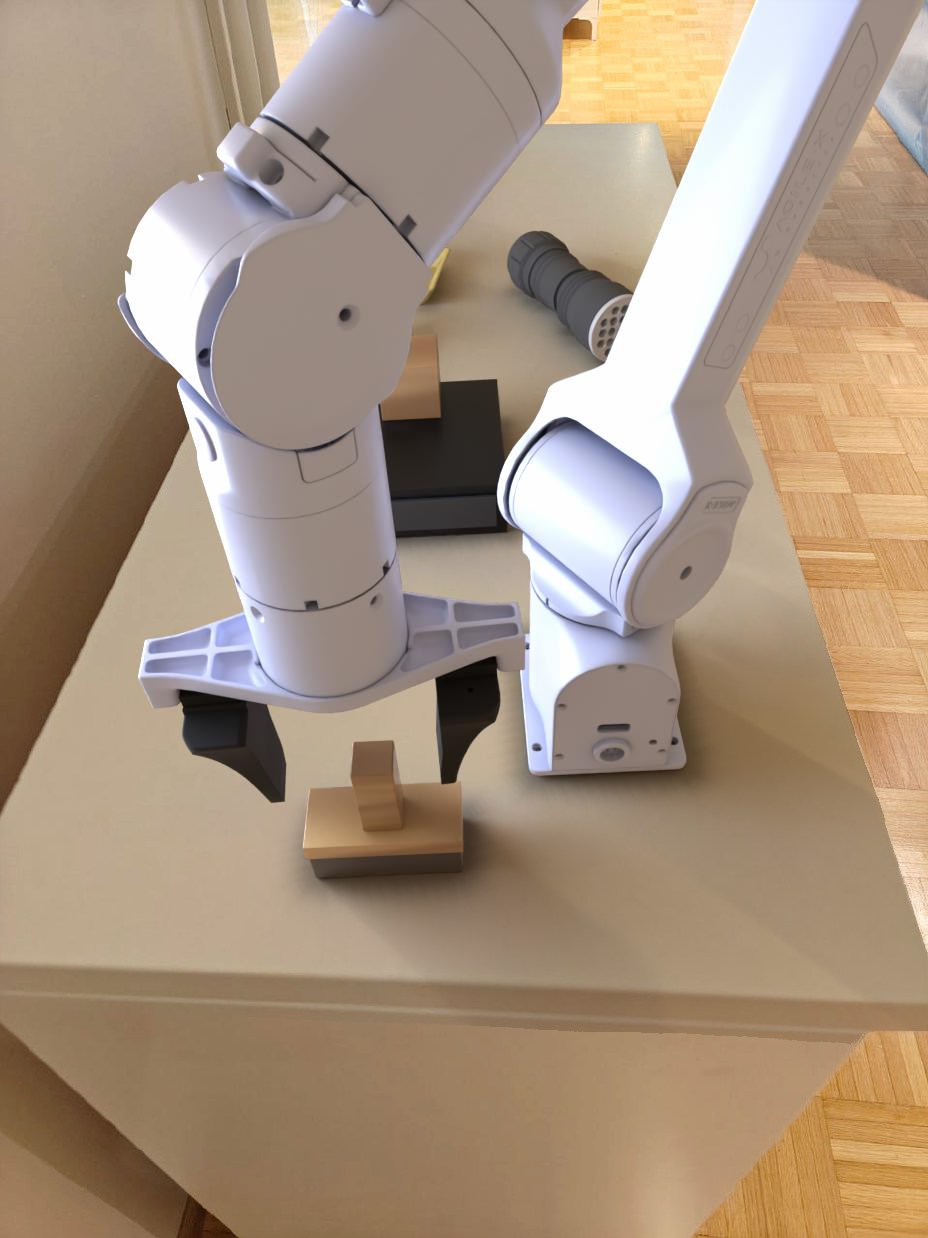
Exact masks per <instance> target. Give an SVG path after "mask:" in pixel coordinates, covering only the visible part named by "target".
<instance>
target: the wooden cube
mask: <svg viewBox="0 0 928 1238" xmlns="http://www.w3.org/2000/svg"><path fill="white" fill-rule="evenodd" d="M440 366H441V365H440V354H439V340H438V334H437V333H434V334H433V333H432V334H415V335H413V334H412V335H411V342H410V348H409V353H408V356H407V360H406V363H405V366H404V369H403V372H402V374H401V376H400V379H399V381H398V383H397V385H396V387H395V389H394V390H393V392H392V393H391V395H390V396H389V397H387V398H386V399H385V400H384V401H382V402H381V403H380V404H381V412H382V419H383V421H385V420H404V419H423V418H441V382H442V381H441V369H440V368H441V367H440Z"/></svg>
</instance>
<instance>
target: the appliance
mask: <svg viewBox="0 0 928 1238" xmlns="http://www.w3.org/2000/svg"><path fill="white" fill-rule="evenodd" d="M500 406H501V405H500V395H499V386H498V379H497V378H489V379H487V378H486V379H485V378H484V379H468V380H450V381H449V380H447V381H441V418H423V419H404V420H385V421H383V419H382V412H381V404H378V409H379V417H380V424H381V431H382V438H383V446H384V453H385V460H386V468H387V476H388V484H389V491H390V499H391V507H392V514H393V522H394V530H395V538H396V539H401V538H420V537H422V538H423V537H438V536H439V537H440V536H441V537H443V536H459V535H460V536H461V535H478V534H479V535H480V534H481V535H482V534H497V533H498V534H500V533H508V531H509V530H508V522H507V521H506V519H505V518H504V517H503V515H502V513H501V512H500V509H499V506H498V500H497V490H498V483H499V479H500V475H501V472H502V469H503V467H504V464H505V462H506V460H505V450H504V449H505V448H504V439H503V428H502V427H503V426H502V417H501V416H502V415H501V407H500Z"/></svg>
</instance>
